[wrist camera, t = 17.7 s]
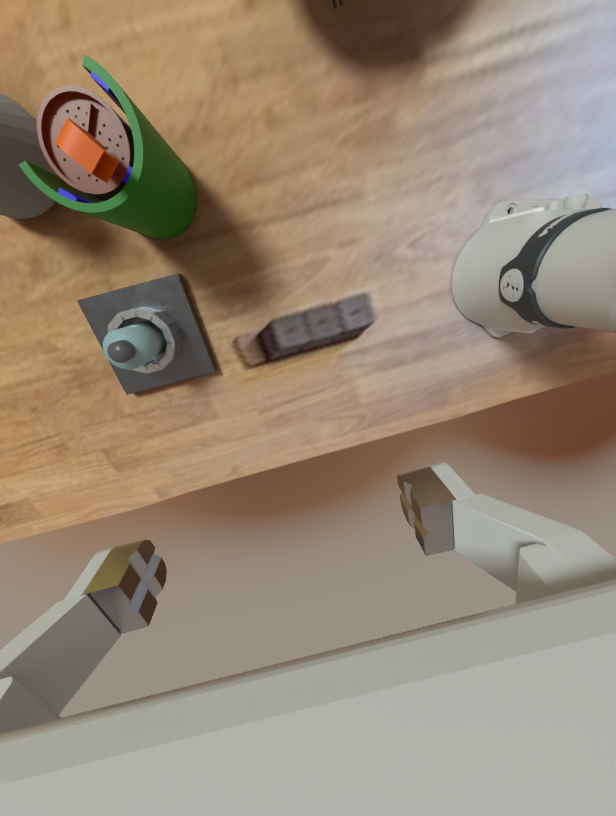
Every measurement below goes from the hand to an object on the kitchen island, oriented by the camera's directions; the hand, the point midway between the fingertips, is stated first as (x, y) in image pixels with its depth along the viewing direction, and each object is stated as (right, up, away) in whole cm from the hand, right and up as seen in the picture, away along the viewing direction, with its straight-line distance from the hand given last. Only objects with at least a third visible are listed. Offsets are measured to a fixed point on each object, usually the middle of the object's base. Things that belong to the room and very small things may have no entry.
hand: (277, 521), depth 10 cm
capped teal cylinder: (-22, +14, +33) cm, 42 cm away
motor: (-18, +30, +28) cm, 45 cm away
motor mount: (-22, +14, +35) cm, 43 cm away
